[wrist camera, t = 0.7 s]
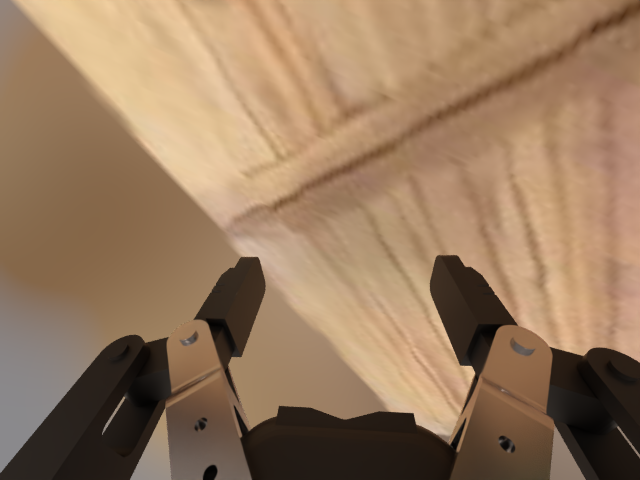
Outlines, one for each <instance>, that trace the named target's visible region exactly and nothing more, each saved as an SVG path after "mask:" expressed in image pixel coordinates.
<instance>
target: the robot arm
mask: <svg viewBox="0 0 640 480" xmlns="http://www.w3.org/2000/svg"><path fill="white" fill-rule="evenodd" d="M430 292H431V296H432V298H433V301H434V303H435V306H436V308H437V310H438V313H439V315H440V318H441V320H442V323H443V325H444V327H445V330H446V332H447V335H448V337H449V339H450V342H451V344H452V347H453V349H454V351H455V354H456V356H457V359H458V361H459V364H460V365H461V366H472V367H473V369H474V371H475V375H474V377H473V379H472V382H471V385H470V388H469V391H468V393H467V396H466V399H465V402H464V404H463V407H462V410H461V413H460V415H459V418H458V421H457V423H456V426H455V428H454V430H453V432H452V435H451V437H450V440H449V442H448V443H447V442H445V441H444V440H443V439H442V438H440V437H439V436H438V435H436V434H434V433H433V432H431V431H430V430H428V429H426V428H424V427H422V426H419V425H416V422H415V418H414V413H398V412H380V411H379V412H375V413H371V414H367V415H363V416H359V417H355V418H351V419H347V420H343V419H340V418H337V417H334V416H331V415H329V414H326V413H323V412H321V411H318V410H315V409H313V408H306V407H288V406H287V407H286V406H279V409H278V414H277V416H276V417H273V418H270V419H268V420H265V421H263V422H262V423H260V424H258V425H257V426H255V427H254V428H253V429H251V427H250V425H249V422H248V420H247V417H246V415H245V413H244V410H243V407H242V404H241V401H240V398H239V395H238V393H237V390H236V386H235V383H234V381H233V377H232V374H231V372H230V369H229V366H228V364H229V362H230V359H231V357H242V354H243V351H244V348H245V346H246V343H247V340H248V338H249V335H250V332H251V329H252V326H253V324H254V321H255V318H256V315H257V313H258V310H259V308H260V305H261V302H262V299H263V296H264V294H265V279H264V275H263V271H262V268H261V264H260V260H259V258H258V257H241V258H240V259H239V261H238V263H237V265H236V266H235V268H229V269H228V270H227V271H226V272H225V273H223V274H222V275H221V277H220V278H219V280H218V282H217V283H216V286H214V288H213V289H212V293H210V294H209V296H208V297H207V299H206V301H205V302H204V304H203V305H202V307H201V309H200V311H199V312H198V314H197V315H196V317H195V318H194V320H192V321H188V322H186V323H184V324H182V325H180V326H179V327H178V328H176V329H175V330H174V331H173V332H172V333H171V335H170V336H169V337H167V338H163V339H159V340H155V341H152V342H148V343H145V342H144V340H143V339H142V338H141V337H140V336H138V335H129V336H125V337H122V338H120V339H118V340H116V341H114V342H113V343H111V344H110V345H108V346H107V347H106V348H105V349H104V350H103V351H102V352H101V353H100V354H99V355H98V356H97V358H96V359H95V360H94V361H93V362H92V364H91V365H90V366H89V367H88V368H87V370H86V371H85V372H84V373H83V374H82V376H81V377H80V378H79V379H78V380H77V382H76V383H75V384H74V385H73V386H72V388H71V389H70V390H69V391H68V392H67V394H66V395H65V396H64V397H63V398H62V400H61V401H60V402H59V403H58V405H57V406H56V407H55V408H54V409H53V411H52V412H51V413H50V414H49V415H48V417H47V418H46V419H45V420H44V421H43V423H42V424H41V425H40V426H39V427H38V429H37V430H36V431H35V432H34V433H33V435H32V436H31V437H30V438H29V439H28V441H27V442H26V443H25V444H24V445H23V447H22V448H21V449H20V450H19V451H18V453H17V454H16V455H15V456H14V458H13V459H12V460H11V461H10V462H9V463H8V465H7V466H6V467H5V468H4V470H3V471H2V472H1V473H0V480H130V478H131V476H132V474H133V472H134V470H135V468H136V466H137V464H138V462H139V460H140V458H141V456H142V454H143V452H144V450H145V448H146V446H147V444H148V442H149V439H150V438H151V436H152V433H153V431H154V429H155V427H156V425H157V423H158V421H159V419H160V417H161V415H162V413H163V411H164V409H165V407H166V419H167V430H168V442H169V454H170V467H171V478H172V480H550V470H551V459H552V447H553V436H554V424H555V426H556V427H557V429H558V431H559V433H560V434H561V436H562V438H563V439H564V442H565V443H566V445H567V447H568V449H569V451H570V452H571V454H572V456H573V458H574V459H575V461H576V463H577V465H578V466H579V468H580V470H581V472H582V474H583V475H584V477H585V479H586V480H640V458H639V457H638V456H637V454H636V453H635V451H634V450H633V449H632V447H631V446H630V445H629V443H628V442H627V440H626V439H625V438H624V436H623V435H622V434H621V432H620V431H619V430H618V428H617V426H619V427H620V428H621V430H622V431H623V433H624V434H625V435H626V437H627V438H628V439H629V441H630V442H631V443H632V445H633V446H634V447H635V449H636V450H637V451H638V453H639V454H640V363H639V362H638V361H636V360H634V359H633V358H631V357H629V356H627V355H625V354H623V353H620V352H618V351H615V350H611V349H607V348H593V349H590V350H589V351H588V352H587V353H586V354H585V356H581V355H577V354H574V353H570V352H566V351H562V350H559V349H555V348H552V347H549V346H548V344H547V343H546V342H545V341H544V340H543V339H542V338H541V337H539V336H538V335H537V334H535V333H533V332H532V331H530V330H528V329H525V328H523V327H520V326H518V325H517V323H516V322H515V321H514V319H513V318H512V316H511V315H510V314H509V312H508V311H507V309H506V308H505V307H504V305H503V304H502V302H501V301H500V300H499V298H498V297H497V295H495V294H494V291H493V290H492V289H491V287H489V284H488V283H487V282H486V280H485V279H484V277H483V276H482V275H481V274H480V273H478V272H477V271H476V270H474V269H473V268H471V267H465V266H464V264H463V263H462V261H461V260H460V258H459V257H458V256H457V255H438V256H437V257H436V259H435V263H434V267H433V272H432V276H431V280H430ZM123 397H125V400H124V402H123V403H122V405H121V406H120V408H119V410H118V411H117V413H116V414H115V416H114V417H113V419H112V421H111V422H110V424H109V425H108V427H107V428H106V430H105V432H104V433H103V435H102V432H103V429H104V427H105V425H106V423H107V422H108V420H109V418H110V417H111V415H112V414H113V412H114V411H115V409H116V408H117V406H118V404H119V403H120V401H121V400H122V398H123Z"/></svg>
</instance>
